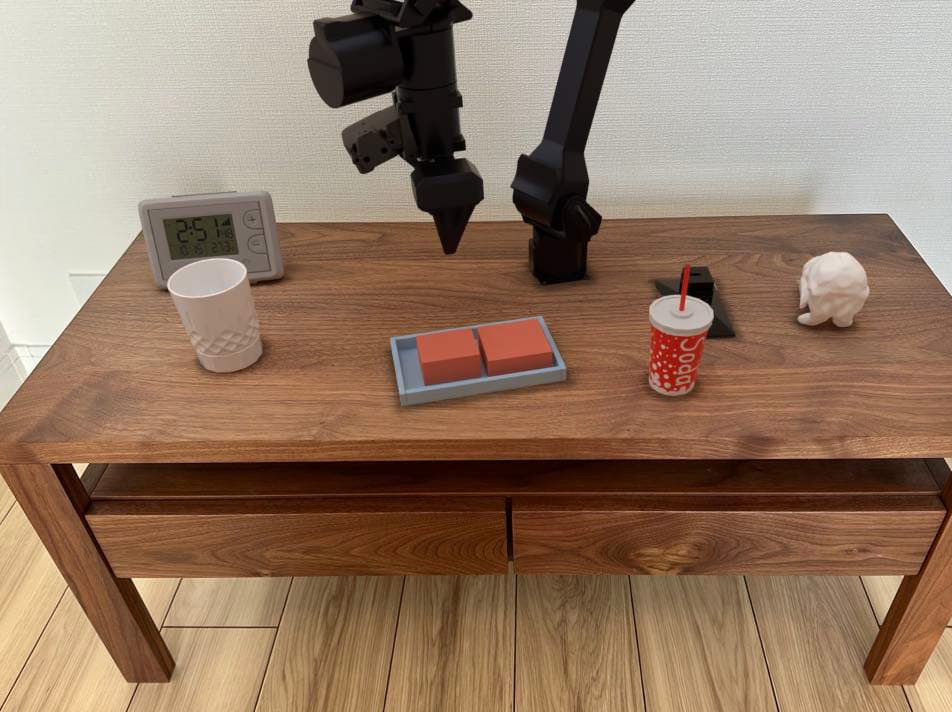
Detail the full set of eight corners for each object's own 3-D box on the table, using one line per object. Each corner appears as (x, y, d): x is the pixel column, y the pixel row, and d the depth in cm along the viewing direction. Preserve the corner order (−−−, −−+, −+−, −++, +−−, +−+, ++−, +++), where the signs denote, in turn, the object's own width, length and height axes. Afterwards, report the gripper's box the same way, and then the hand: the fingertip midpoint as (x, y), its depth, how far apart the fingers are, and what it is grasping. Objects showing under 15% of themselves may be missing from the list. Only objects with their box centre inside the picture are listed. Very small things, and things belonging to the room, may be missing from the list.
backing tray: (541, 330, 87) (541, 315, 85) (566, 383, 79) (566, 368, 78) (391, 352, 84) (389, 337, 83) (402, 409, 76) (399, 394, 75)
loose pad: (472, 350, 83) (471, 327, 81) (481, 377, 79) (480, 354, 77) (418, 358, 82) (415, 335, 80) (424, 386, 78) (421, 362, 77)
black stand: (654, 282, 94) (658, 249, 91) (713, 281, 94) (718, 247, 91) (672, 339, 85) (677, 303, 82) (738, 337, 85) (745, 301, 82)
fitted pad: (537, 336, 85) (537, 318, 83) (552, 370, 80) (552, 351, 78) (477, 345, 84) (476, 327, 82) (489, 380, 79) (488, 361, 77)
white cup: (248, 380, 81) (223, 300, 74) (181, 373, 82) (151, 293, 76) (280, 338, 87) (259, 261, 80) (217, 332, 88) (192, 255, 82)
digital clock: (150, 293, 95) (120, 215, 88) (179, 258, 102) (153, 182, 95) (276, 295, 94) (256, 215, 87) (296, 259, 101) (279, 183, 94)
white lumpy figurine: (817, 265, 79) (797, 223, 89) (800, 337, 84) (783, 289, 94) (880, 268, 78) (853, 225, 88) (860, 340, 83) (836, 292, 93)
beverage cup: (646, 405, 76) (661, 283, 67) (636, 368, 81) (648, 250, 72) (707, 402, 76) (729, 281, 67) (693, 365, 81) (713, 247, 72)
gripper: (331, 61, 76) (357, 206, 86) (347, 125, 62) (375, 290, 72) (441, 49, 78) (453, 193, 88) (480, 109, 64) (489, 272, 74)
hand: (441, 233), depth 80 cm, fingers open, 9 cm apart
